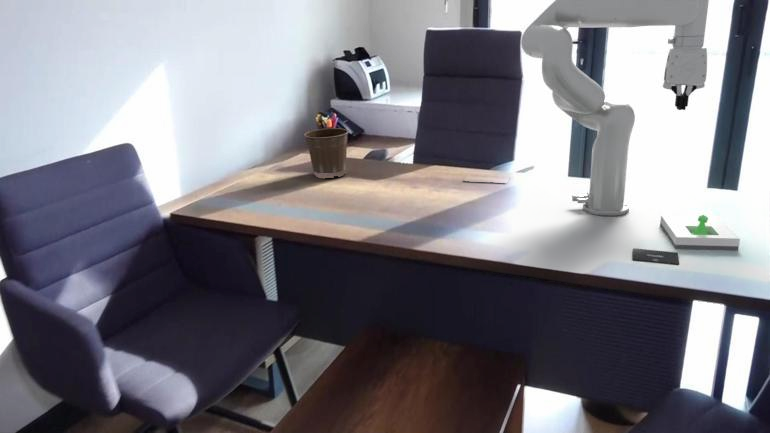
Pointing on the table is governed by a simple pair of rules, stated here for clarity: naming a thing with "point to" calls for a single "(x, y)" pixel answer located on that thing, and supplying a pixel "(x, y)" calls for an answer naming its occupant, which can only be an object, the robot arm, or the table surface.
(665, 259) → the solid state drive
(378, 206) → the table surface
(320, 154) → the plant pot
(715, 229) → the white square slotted base
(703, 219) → the game piece
